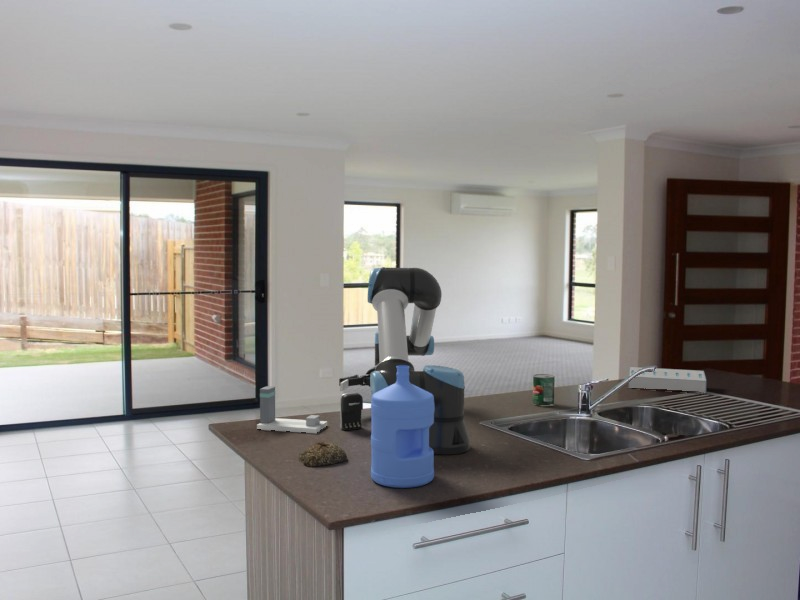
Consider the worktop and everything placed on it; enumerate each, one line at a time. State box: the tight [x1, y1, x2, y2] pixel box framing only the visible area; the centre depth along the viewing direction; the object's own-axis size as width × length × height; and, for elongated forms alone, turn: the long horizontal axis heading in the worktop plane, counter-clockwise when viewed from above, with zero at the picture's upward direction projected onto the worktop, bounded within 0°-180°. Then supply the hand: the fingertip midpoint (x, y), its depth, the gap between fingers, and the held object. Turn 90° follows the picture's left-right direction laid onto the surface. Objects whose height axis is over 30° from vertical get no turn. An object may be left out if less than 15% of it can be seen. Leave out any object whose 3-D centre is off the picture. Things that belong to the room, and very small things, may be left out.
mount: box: [256, 385, 328, 434], centre depth 221 cm, size 10×20×12 cm, turn 76°
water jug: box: [370, 365, 435, 489], centre depth 170 cm, size 16×16×28 cm
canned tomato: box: [532, 373, 556, 405], centre depth 257 cm, size 8×8×11 cm
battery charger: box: [339, 392, 364, 431], centre depth 219 cm, size 7×4×11 cm, turn 116°
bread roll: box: [297, 441, 348, 467], centre depth 187 cm, size 13×12×5 cm
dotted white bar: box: [627, 366, 707, 393], centre depth 292 cm, size 30×14×8 cm, turn 70°
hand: (360, 388), depth 229 cm, fingers open, 13 cm apart
